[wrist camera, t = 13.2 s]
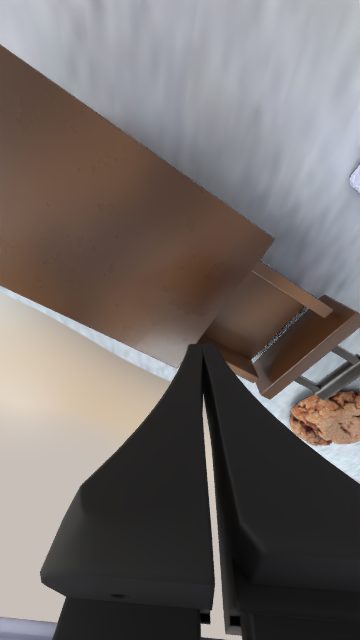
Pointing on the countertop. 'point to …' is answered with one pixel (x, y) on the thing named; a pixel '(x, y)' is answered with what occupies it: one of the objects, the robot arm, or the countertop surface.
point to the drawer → (294, 345)
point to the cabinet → (110, 223)
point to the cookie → (328, 419)
